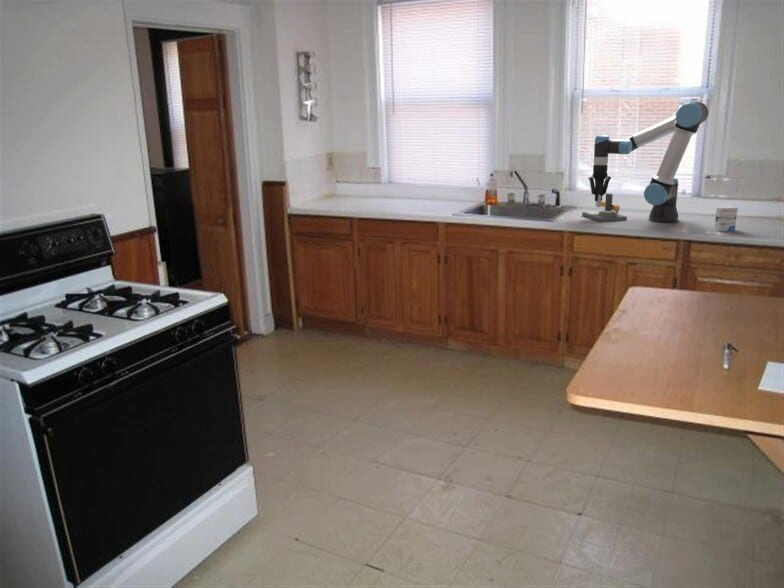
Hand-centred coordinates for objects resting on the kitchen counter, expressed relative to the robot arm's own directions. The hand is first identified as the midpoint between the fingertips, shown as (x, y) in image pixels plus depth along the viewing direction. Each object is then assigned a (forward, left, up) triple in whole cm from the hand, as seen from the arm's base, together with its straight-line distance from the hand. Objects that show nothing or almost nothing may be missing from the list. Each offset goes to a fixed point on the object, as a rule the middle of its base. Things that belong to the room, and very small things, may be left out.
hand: (597, 206), depth 395 cm
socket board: (-1, -4, -6) cm, 7 cm away
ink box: (-51, -43, -7) cm, 67 cm away
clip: (-2, -6, -1) cm, 7 cm away
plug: (-5, -4, -4) cm, 8 cm away
